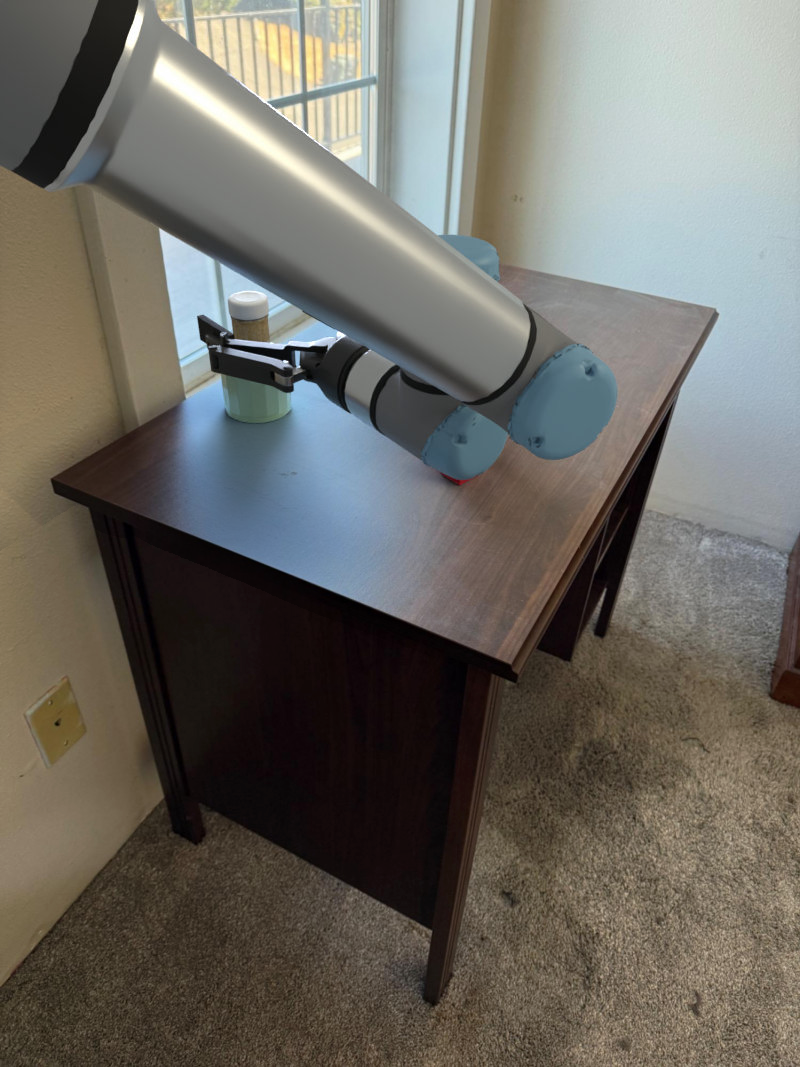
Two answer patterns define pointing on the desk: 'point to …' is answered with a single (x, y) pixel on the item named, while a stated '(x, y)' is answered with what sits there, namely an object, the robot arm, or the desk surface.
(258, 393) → the holder
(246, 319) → the sprinkles bottle
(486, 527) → the desk surface
